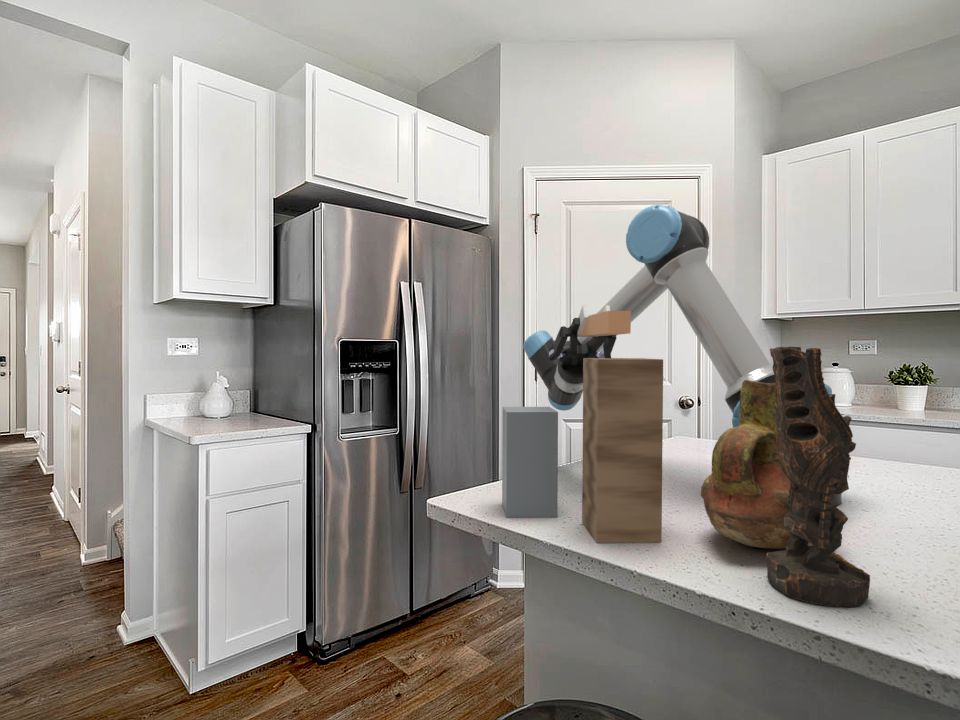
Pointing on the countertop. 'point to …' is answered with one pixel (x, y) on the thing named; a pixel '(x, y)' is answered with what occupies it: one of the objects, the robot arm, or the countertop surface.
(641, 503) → the walnut stand
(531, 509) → the slate pedestal
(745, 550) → the countertop surface
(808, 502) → the statue
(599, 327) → the bar
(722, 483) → the ceramic vessel
